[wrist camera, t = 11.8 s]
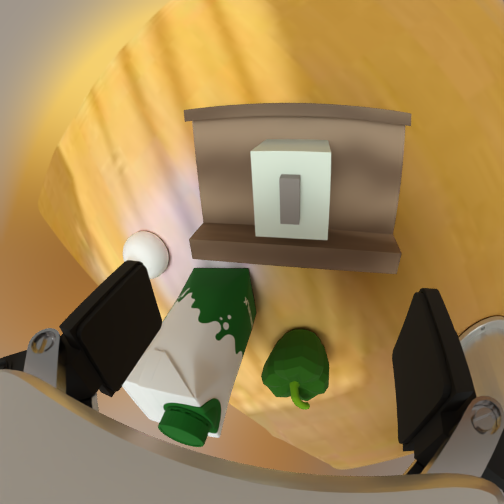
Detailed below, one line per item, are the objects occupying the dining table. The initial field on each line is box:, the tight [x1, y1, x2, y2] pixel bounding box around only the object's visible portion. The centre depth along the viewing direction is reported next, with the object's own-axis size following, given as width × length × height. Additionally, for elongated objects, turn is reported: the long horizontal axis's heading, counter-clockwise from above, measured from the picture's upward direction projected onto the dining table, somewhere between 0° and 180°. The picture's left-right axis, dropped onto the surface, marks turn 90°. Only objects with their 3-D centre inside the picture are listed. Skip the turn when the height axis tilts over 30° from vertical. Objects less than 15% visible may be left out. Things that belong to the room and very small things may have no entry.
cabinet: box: [250, 139, 331, 240], centre depth 20 cm, size 5×6×7 cm
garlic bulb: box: [123, 231, 169, 279], centre depth 32 cm, size 6×6×8 cm
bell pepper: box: [261, 329, 329, 410], centre depth 33 cm, size 8×8×10 cm
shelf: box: [184, 103, 411, 274], centre depth 23 cm, size 13×18×7 cm
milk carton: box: [122, 268, 256, 447], centre depth 27 cm, size 9×9×20 cm
